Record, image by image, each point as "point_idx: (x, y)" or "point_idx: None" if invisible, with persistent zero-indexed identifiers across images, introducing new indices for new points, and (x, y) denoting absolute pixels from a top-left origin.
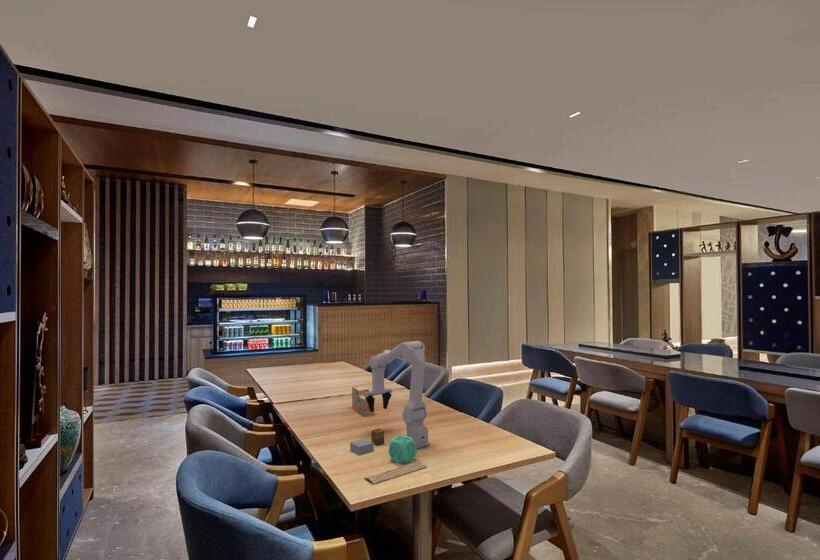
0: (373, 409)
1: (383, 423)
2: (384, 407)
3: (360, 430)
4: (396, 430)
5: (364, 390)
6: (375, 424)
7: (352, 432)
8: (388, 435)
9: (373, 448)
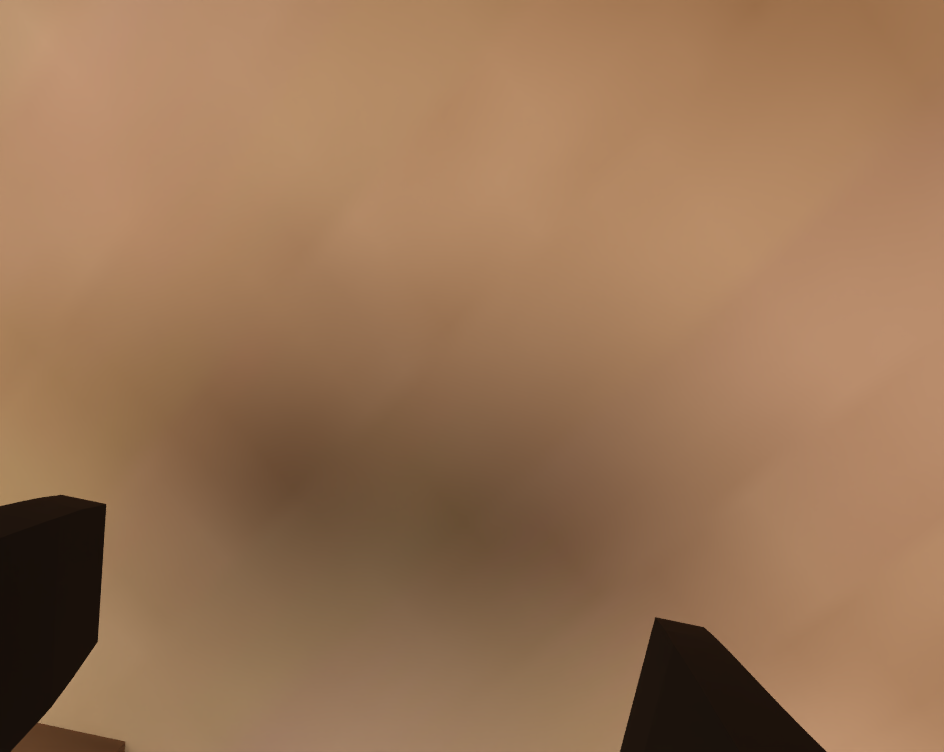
0: (21, 717)
1: (909, 112)
2: (646, 709)
3: (234, 99)
4: None
5: None
6: (737, 21)
7: (49, 72)
8: (397, 693)
9: None
